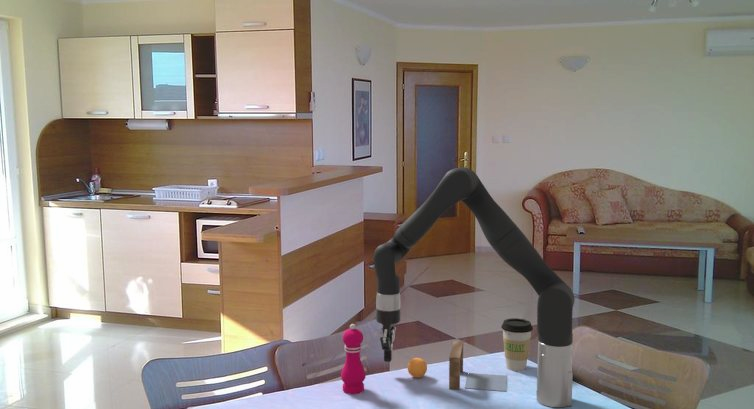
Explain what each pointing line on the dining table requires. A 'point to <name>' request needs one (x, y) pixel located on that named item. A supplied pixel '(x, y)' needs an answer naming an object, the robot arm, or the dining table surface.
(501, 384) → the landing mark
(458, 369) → the bridge
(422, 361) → the ball
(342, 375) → the pepper mill
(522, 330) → the coffee cup
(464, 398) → the dining table surface
